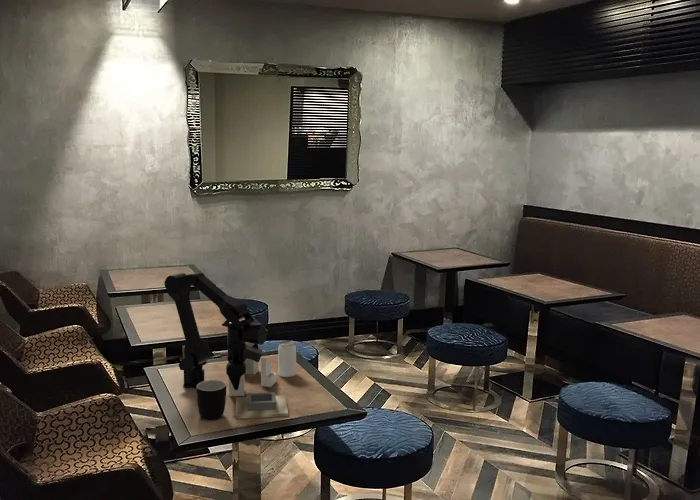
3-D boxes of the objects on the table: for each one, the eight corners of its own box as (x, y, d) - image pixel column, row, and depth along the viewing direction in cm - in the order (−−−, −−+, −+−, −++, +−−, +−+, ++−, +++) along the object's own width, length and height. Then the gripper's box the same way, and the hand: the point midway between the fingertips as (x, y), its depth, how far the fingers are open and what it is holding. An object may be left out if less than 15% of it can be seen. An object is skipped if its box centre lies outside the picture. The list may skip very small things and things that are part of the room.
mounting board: (235, 418, 190) (235, 415, 190) (236, 400, 203) (236, 397, 203) (288, 416, 192) (288, 413, 192) (285, 398, 206) (285, 395, 206)
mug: (230, 419, 189) (229, 387, 187) (200, 424, 185) (200, 392, 183) (219, 404, 200) (219, 374, 198) (191, 409, 195) (190, 379, 194)
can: (299, 373, 229) (299, 342, 227) (288, 379, 223) (288, 347, 221) (285, 370, 232) (285, 339, 230) (274, 375, 227) (274, 343, 225)
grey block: (229, 396, 207) (228, 370, 205) (229, 391, 211) (229, 366, 209) (244, 395, 208) (244, 369, 206) (244, 390, 212) (244, 365, 210)
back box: (247, 410, 193) (247, 403, 193) (247, 400, 201) (247, 393, 200) (276, 409, 195) (276, 402, 194) (275, 399, 202) (275, 392, 202)
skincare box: (258, 371, 231) (258, 339, 229) (253, 375, 226) (253, 343, 224) (243, 369, 232) (243, 337, 230) (238, 373, 228) (237, 341, 226)
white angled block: (256, 383, 212) (261, 358, 215) (265, 388, 221) (269, 364, 224) (266, 384, 211) (271, 359, 214) (274, 389, 220) (278, 364, 223)
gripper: (261, 348, 198) (261, 394, 201) (260, 331, 217) (260, 374, 219) (225, 349, 197) (226, 395, 199) (227, 332, 215) (228, 375, 217)
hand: (236, 384), depth 209 cm, fingers open, 9 cm apart
